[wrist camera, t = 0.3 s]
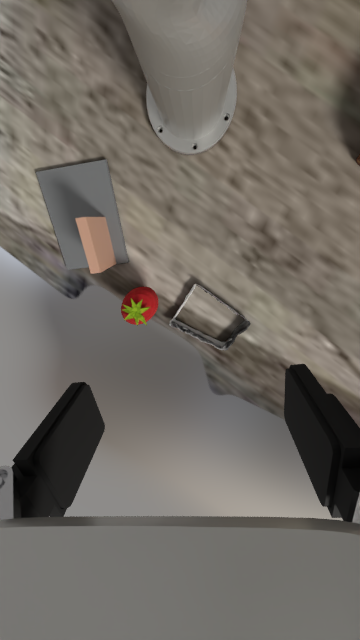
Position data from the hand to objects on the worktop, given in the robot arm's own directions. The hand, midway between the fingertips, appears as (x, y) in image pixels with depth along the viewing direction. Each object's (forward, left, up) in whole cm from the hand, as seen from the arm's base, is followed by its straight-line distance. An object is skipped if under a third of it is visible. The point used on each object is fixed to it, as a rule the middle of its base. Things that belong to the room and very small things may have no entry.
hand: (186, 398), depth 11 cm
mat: (-10, -18, -34) cm, 40 cm away
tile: (-6, -15, -34) cm, 38 cm away
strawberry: (+5, -10, -34) cm, 36 cm away
